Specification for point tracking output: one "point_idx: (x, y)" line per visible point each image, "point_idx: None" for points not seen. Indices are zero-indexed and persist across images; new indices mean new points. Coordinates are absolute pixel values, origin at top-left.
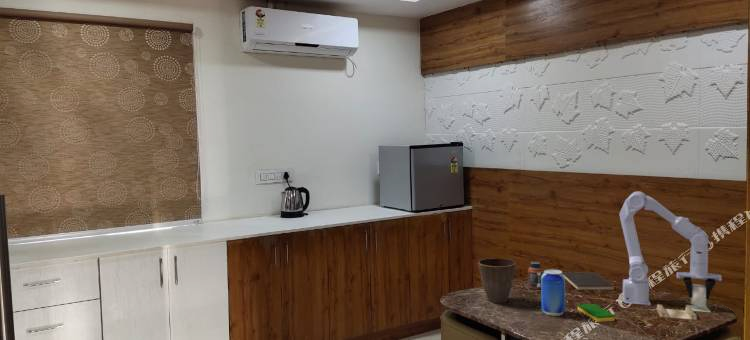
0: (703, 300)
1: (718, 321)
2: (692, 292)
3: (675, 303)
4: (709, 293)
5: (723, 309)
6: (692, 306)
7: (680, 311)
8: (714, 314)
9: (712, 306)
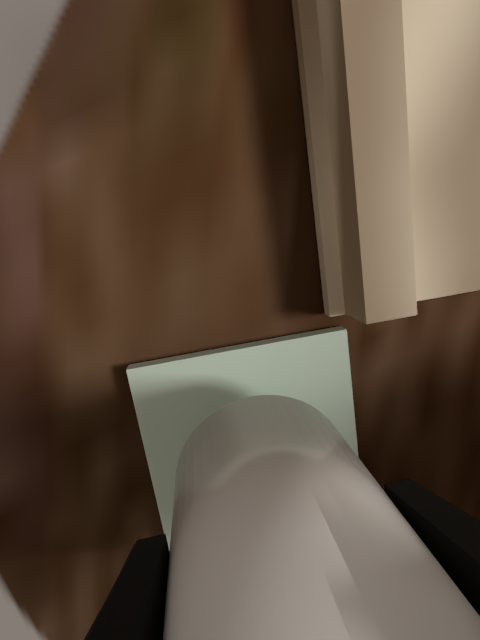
0: (214, 458)
1: (48, 53)
2: (435, 560)
3: None
4: (95, 637)
5: (7, 569)
6: None
7: (447, 238)
8: (95, 343)
9: None
